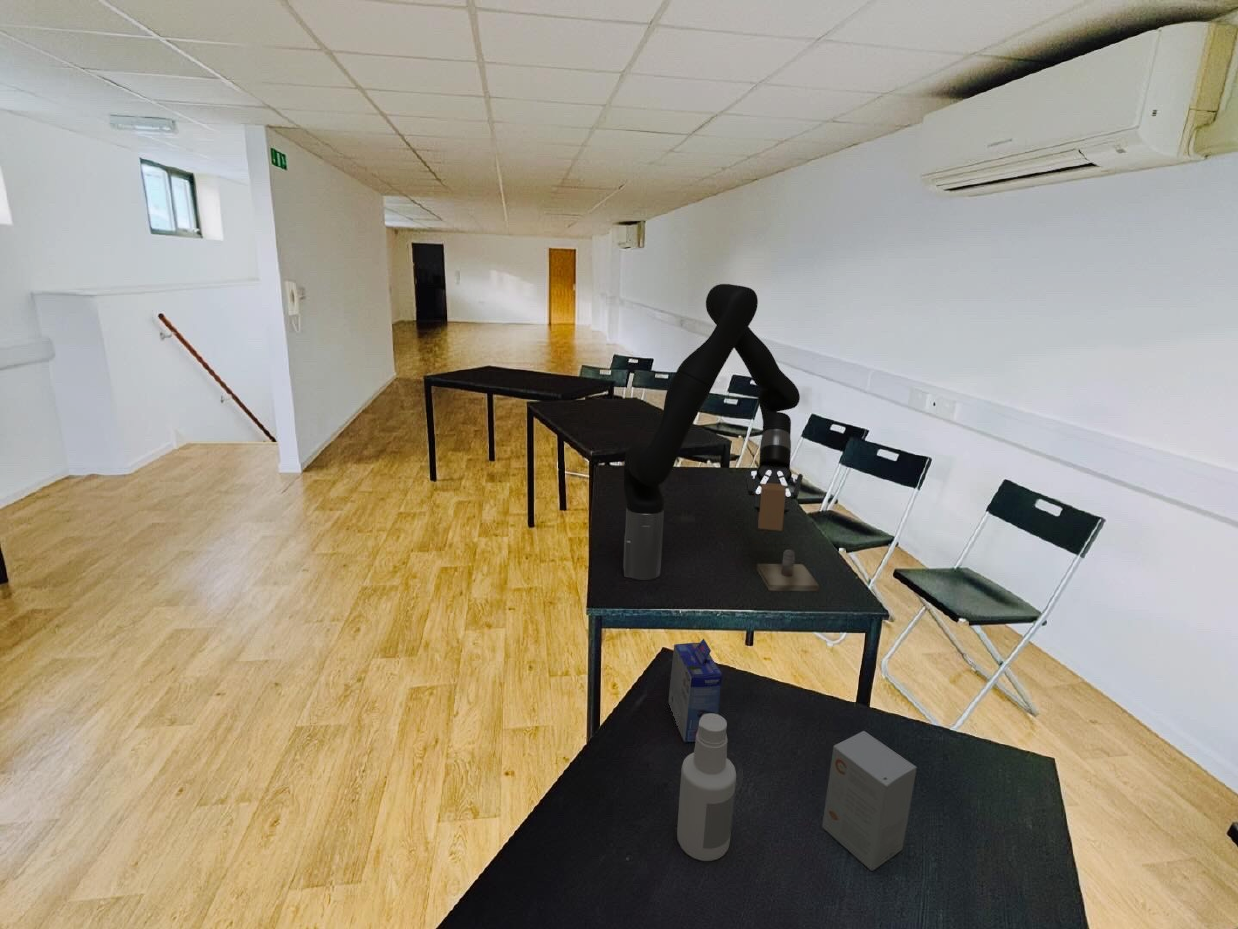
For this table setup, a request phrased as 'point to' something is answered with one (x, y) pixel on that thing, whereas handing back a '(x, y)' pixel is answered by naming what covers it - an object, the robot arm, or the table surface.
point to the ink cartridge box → (693, 687)
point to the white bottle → (707, 793)
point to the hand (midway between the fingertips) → (771, 511)
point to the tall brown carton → (772, 506)
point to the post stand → (787, 575)
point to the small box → (868, 799)
